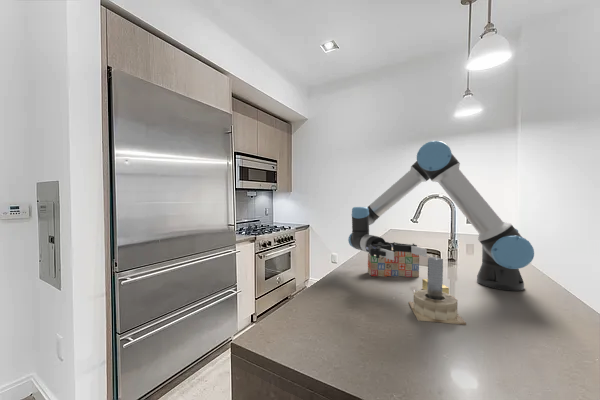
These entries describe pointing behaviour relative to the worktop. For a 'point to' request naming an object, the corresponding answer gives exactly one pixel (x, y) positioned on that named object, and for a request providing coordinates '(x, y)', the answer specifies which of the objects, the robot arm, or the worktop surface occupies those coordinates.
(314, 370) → the worktop surface
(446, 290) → the square bit
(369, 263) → the stack of blocks
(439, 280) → the cylinder
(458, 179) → the robot arm
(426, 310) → the socket block
